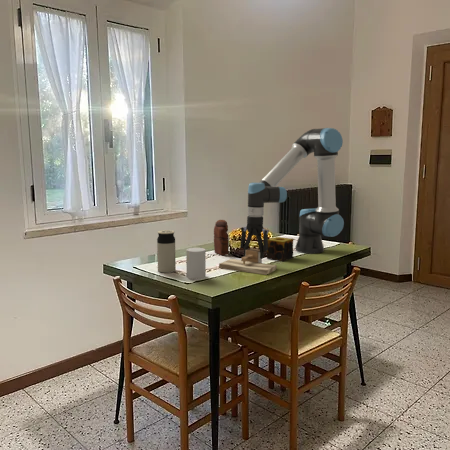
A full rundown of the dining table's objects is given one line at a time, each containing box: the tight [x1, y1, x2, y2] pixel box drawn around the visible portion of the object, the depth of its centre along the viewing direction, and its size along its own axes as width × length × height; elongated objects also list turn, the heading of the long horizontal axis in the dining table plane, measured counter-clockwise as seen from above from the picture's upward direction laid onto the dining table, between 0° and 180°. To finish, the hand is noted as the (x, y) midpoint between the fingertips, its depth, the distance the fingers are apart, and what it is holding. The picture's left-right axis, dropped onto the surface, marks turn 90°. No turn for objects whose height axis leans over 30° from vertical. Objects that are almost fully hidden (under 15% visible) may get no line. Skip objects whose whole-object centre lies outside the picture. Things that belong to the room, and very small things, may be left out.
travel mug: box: [156, 229, 177, 274], centre depth 204 cm, size 8×8×18 cm
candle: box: [266, 236, 294, 262], centre depth 229 cm, size 10×10×10 cm
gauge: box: [240, 248, 260, 264], centre depth 213 cm, size 14×6×7 cm, turn 150°
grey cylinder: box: [185, 247, 207, 281], centre depth 194 cm, size 8×8×12 cm
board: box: [218, 258, 278, 276], centre depth 209 cm, size 11×24×2 cm, turn 61°
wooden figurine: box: [213, 219, 230, 257], centre depth 239 cm, size 12×6×18 cm, turn 25°
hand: (253, 263), depth 216 cm, fingers closed on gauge, 6 cm apart
